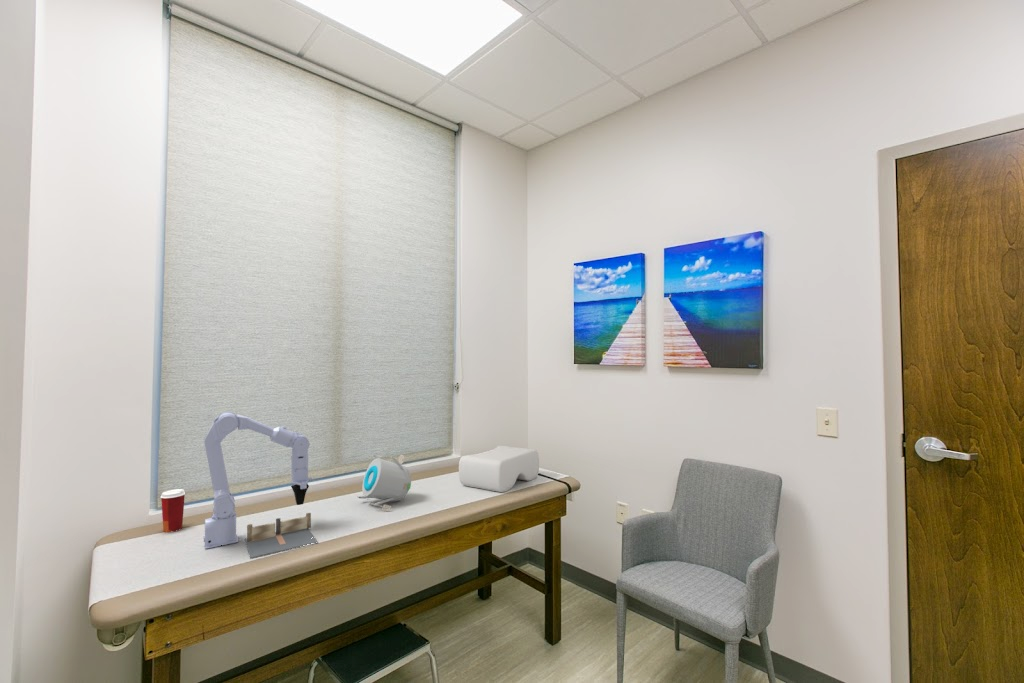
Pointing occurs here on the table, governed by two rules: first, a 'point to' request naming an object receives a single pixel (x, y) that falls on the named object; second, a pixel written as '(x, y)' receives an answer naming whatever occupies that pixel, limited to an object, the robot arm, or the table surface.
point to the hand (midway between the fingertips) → (299, 504)
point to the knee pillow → (498, 468)
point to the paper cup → (172, 509)
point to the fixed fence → (260, 531)
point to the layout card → (280, 542)
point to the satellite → (386, 480)
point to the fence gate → (293, 524)
